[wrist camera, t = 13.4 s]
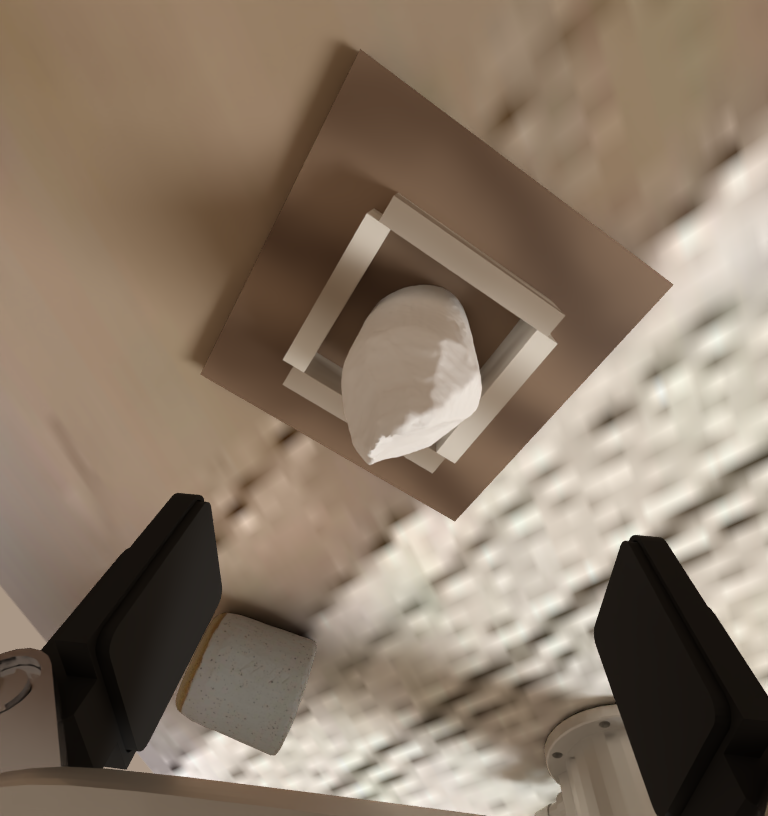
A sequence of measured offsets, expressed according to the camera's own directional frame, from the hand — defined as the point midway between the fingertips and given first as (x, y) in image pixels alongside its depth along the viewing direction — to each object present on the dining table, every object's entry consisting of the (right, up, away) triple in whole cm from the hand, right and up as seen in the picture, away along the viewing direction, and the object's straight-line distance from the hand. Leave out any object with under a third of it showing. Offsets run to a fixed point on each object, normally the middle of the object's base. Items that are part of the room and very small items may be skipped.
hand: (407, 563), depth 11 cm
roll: (+1, +8, +15) cm, 17 cm away
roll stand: (+1, +8, +16) cm, 18 cm away
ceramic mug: (-10, -16, +29) cm, 34 cm away
